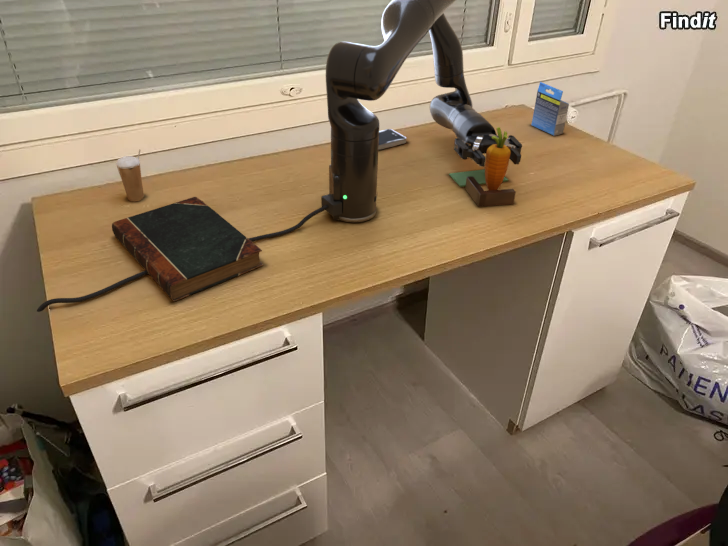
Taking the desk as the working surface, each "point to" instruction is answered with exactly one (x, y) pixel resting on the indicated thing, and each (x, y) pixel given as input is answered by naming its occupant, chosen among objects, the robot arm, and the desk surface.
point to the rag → (462, 176)
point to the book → (187, 247)
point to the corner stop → (488, 194)
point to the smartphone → (390, 138)
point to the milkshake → (131, 177)
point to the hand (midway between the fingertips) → (500, 161)
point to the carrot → (496, 161)
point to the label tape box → (549, 110)
